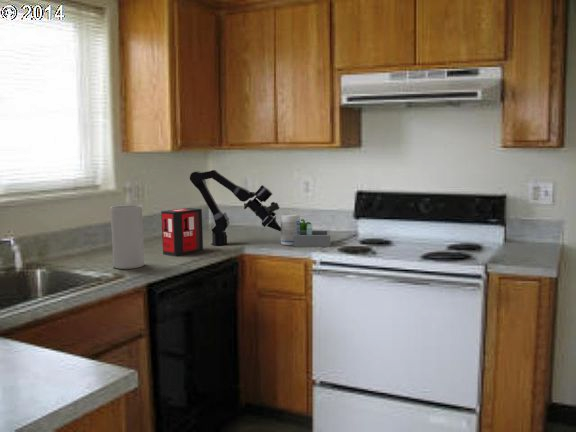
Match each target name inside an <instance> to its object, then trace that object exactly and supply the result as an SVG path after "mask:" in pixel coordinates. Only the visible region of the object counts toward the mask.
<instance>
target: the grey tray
mask: <svg viewBox="0 0 576 432" xmlns="http://www.w3.org/2000/svg"><path fill="white" fill-rule="evenodd" d="M293 247H294V248H313V247H314V248H330V247H331V230H312V235H307V231H300V235H294V245H293Z"/></svg>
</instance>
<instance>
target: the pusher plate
mask: <svg viewBox="0 0 576 432" xmlns="http://www.w3.org/2000/svg"><path fill="white" fill-rule="evenodd" d="M312 231H313V224H312V223H311V224H307V235H312Z"/></svg>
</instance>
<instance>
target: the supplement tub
mask: <svg viewBox="0 0 576 432" xmlns="http://www.w3.org/2000/svg"><path fill="white" fill-rule="evenodd" d="M300 222H301V219H300V214H298V213H297V214H296V213H287V214H281V215H280V227H281V231H280V243H281V245H283V246H294V235H300Z"/></svg>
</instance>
